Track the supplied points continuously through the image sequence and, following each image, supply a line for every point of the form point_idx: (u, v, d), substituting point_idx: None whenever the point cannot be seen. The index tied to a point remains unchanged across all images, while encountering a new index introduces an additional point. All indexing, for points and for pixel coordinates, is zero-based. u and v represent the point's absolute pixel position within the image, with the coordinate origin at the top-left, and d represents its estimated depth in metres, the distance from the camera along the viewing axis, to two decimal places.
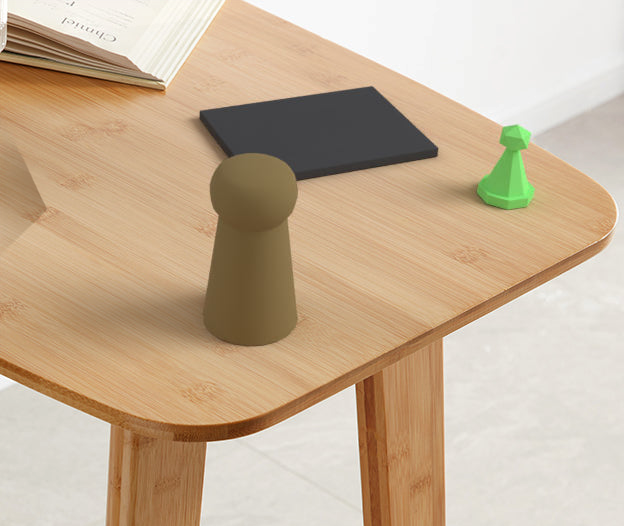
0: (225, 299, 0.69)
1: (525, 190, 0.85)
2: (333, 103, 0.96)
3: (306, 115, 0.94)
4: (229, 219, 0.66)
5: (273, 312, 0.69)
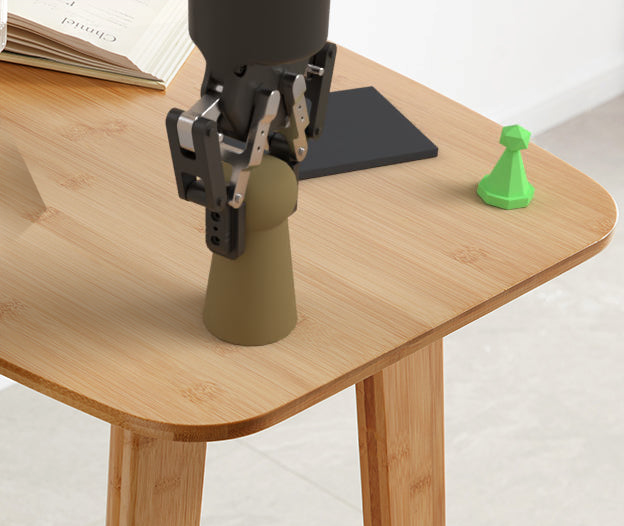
0: (225, 299, 0.69)
1: (525, 190, 0.85)
2: (333, 103, 0.96)
3: None
4: None
5: (273, 311, 0.69)
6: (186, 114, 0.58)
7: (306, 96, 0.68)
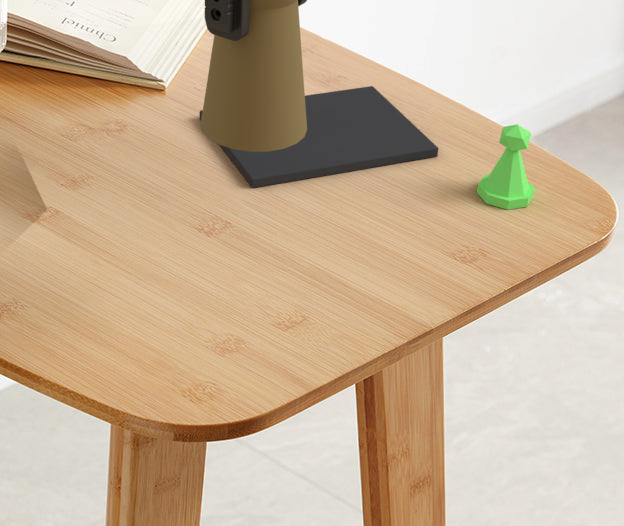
0: (227, 96, 0.61)
1: (525, 190, 0.85)
2: (333, 103, 0.96)
3: (306, 115, 0.94)
4: None
5: (280, 111, 0.61)
6: None
7: None
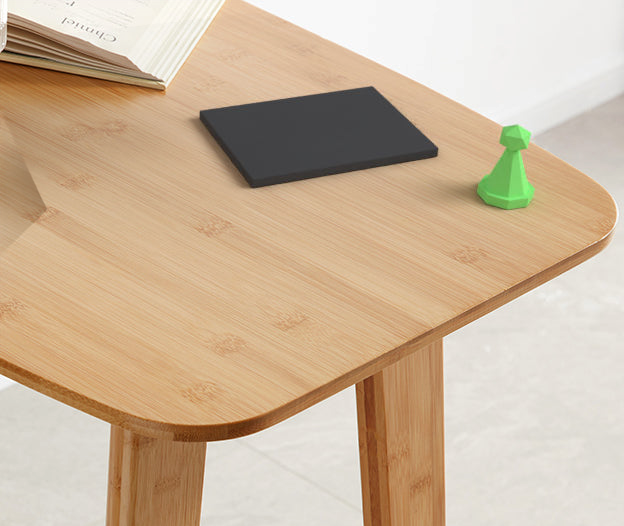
0: None
1: (525, 190, 0.85)
2: (333, 103, 0.96)
3: (306, 115, 0.94)
4: None
5: None
6: None
7: None
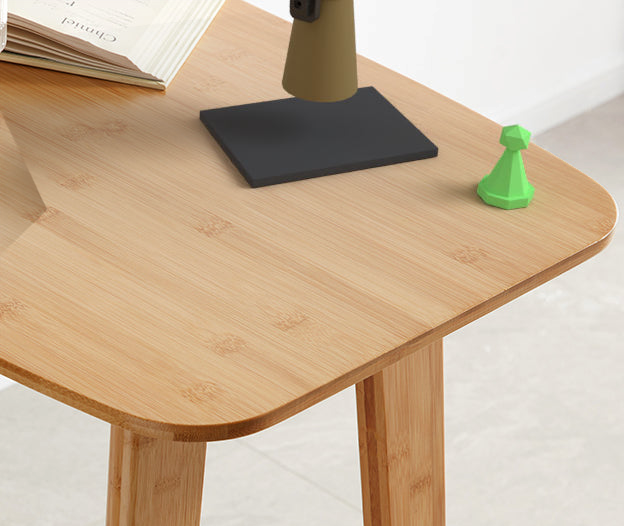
0: (303, 62, 0.86)
1: (525, 190, 0.85)
2: (333, 103, 0.96)
3: (306, 115, 0.94)
4: None
5: (340, 73, 0.87)
6: None
7: None
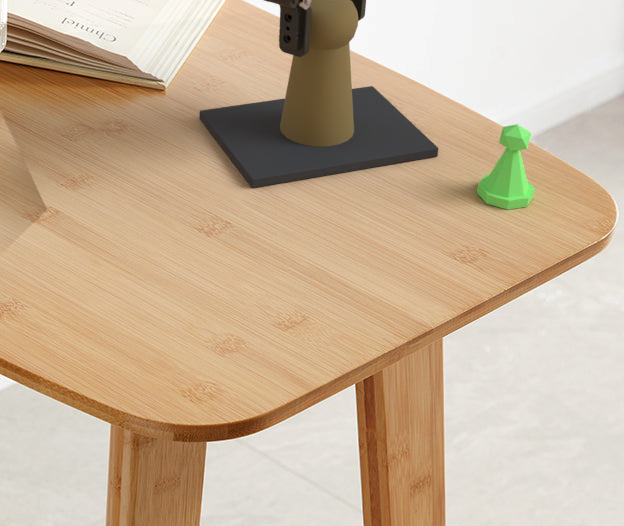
0: (300, 108, 0.88)
1: (525, 190, 0.85)
2: None
3: None
4: None
5: (337, 118, 0.89)
6: None
7: None
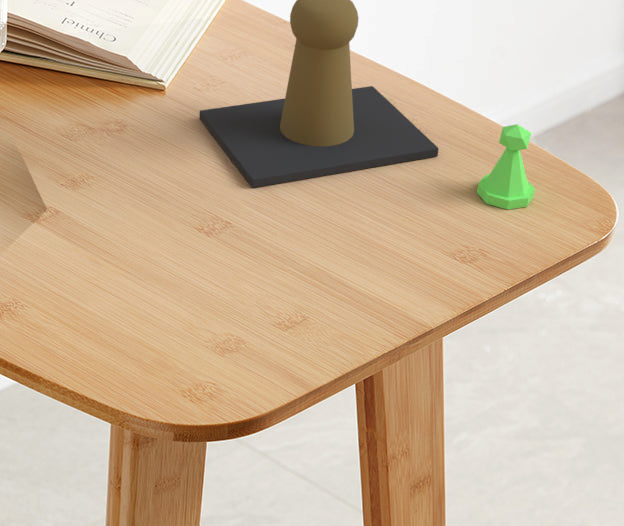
0: (300, 108, 0.88)
1: (525, 190, 0.85)
2: None
3: None
4: (306, 39, 0.85)
5: (337, 118, 0.89)
6: None
7: None
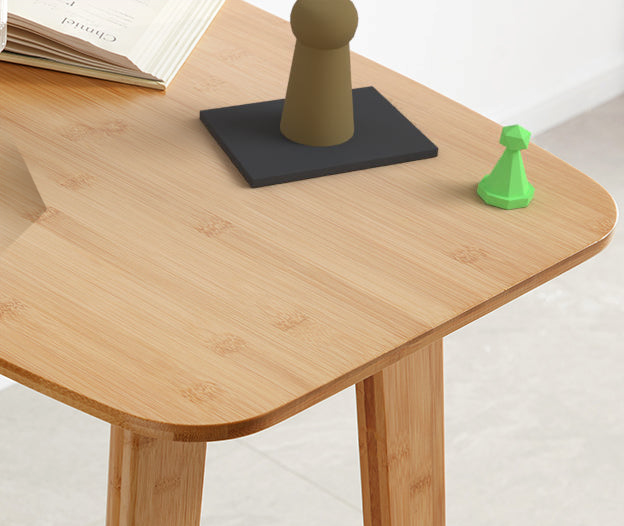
0: (300, 108, 0.88)
1: (525, 190, 0.85)
2: None
3: None
4: (306, 39, 0.85)
5: (337, 118, 0.89)
6: None
7: None
